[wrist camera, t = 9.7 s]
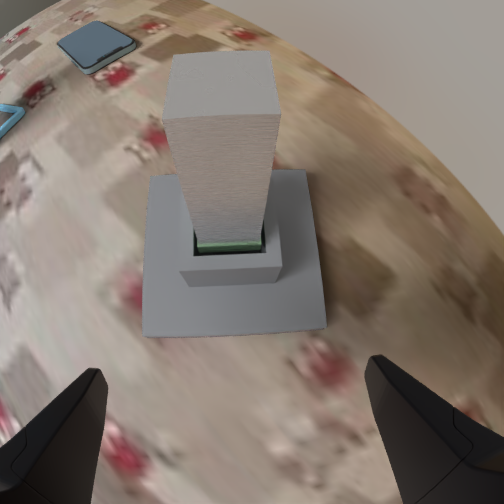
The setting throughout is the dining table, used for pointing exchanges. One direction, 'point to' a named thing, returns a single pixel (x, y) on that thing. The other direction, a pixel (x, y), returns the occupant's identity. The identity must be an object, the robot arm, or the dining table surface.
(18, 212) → the dining table surface
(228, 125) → the column
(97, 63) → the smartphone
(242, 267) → the base
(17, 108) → the light blue holder stand
